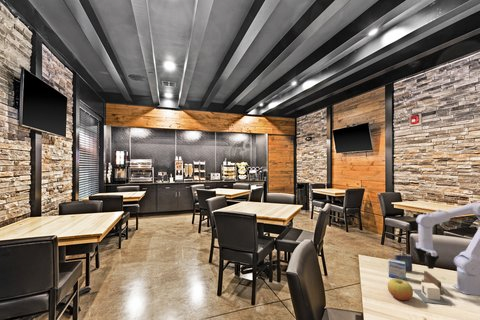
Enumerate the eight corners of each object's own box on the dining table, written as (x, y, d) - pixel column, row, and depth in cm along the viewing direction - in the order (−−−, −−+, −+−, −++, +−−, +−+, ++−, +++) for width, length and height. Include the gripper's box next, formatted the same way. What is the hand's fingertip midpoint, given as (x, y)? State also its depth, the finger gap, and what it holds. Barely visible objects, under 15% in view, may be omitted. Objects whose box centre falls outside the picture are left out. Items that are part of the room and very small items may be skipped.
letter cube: (433, 293, 110) (433, 283, 110) (440, 299, 105) (439, 288, 105) (420, 292, 111) (420, 282, 111) (427, 298, 106) (426, 287, 106)
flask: (395, 270, 136) (394, 251, 136) (393, 268, 139) (392, 250, 139) (413, 271, 134) (412, 253, 134) (410, 269, 136) (410, 251, 137)
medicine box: (388, 276, 128) (388, 261, 128) (388, 273, 132) (388, 258, 132) (406, 280, 124) (405, 264, 124) (405, 277, 127) (405, 261, 128)
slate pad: (435, 292, 112) (435, 291, 112) (451, 305, 102) (451, 304, 102) (412, 289, 114) (412, 288, 114) (425, 302, 104) (425, 301, 104)
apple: (412, 306, 101) (411, 287, 101) (386, 298, 107) (385, 280, 108) (414, 296, 108) (413, 279, 109) (389, 289, 115) (389, 273, 115)
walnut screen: (428, 281, 123) (427, 270, 123) (444, 294, 110) (444, 283, 110) (421, 280, 123) (421, 270, 123) (437, 294, 110) (436, 282, 111)
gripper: (409, 234, 127) (409, 259, 126) (425, 242, 113) (425, 270, 112) (423, 234, 125) (424, 259, 125) (441, 243, 111) (442, 272, 111)
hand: (426, 265), depth 119 cm, fingers open, 7 cm apart
